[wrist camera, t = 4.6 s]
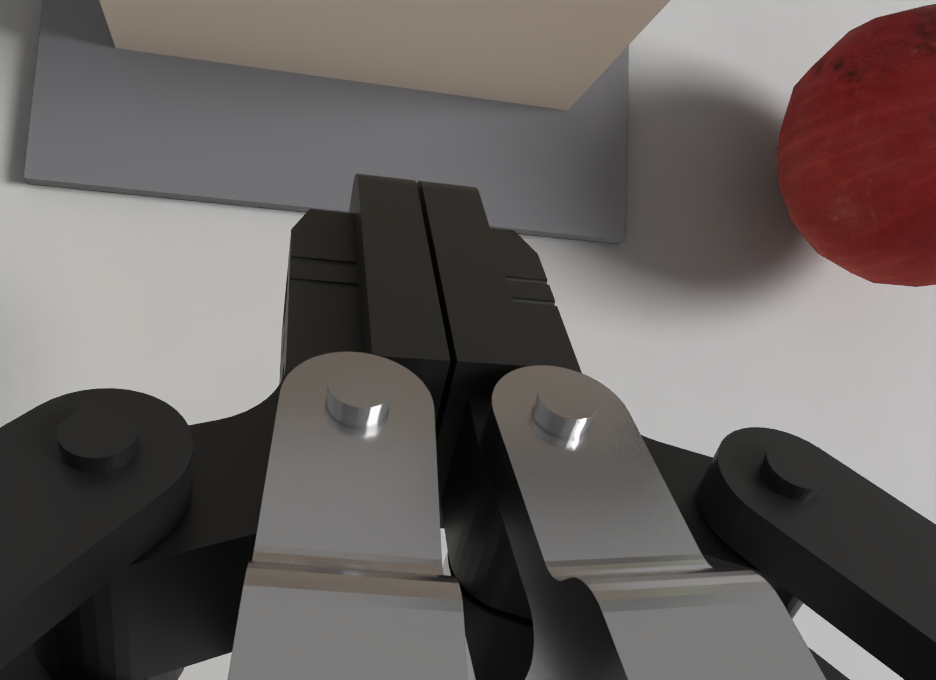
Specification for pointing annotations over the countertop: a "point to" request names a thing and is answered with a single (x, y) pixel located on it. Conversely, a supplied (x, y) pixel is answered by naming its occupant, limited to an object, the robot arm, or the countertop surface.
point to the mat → (313, 135)
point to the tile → (399, 40)
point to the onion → (868, 151)
